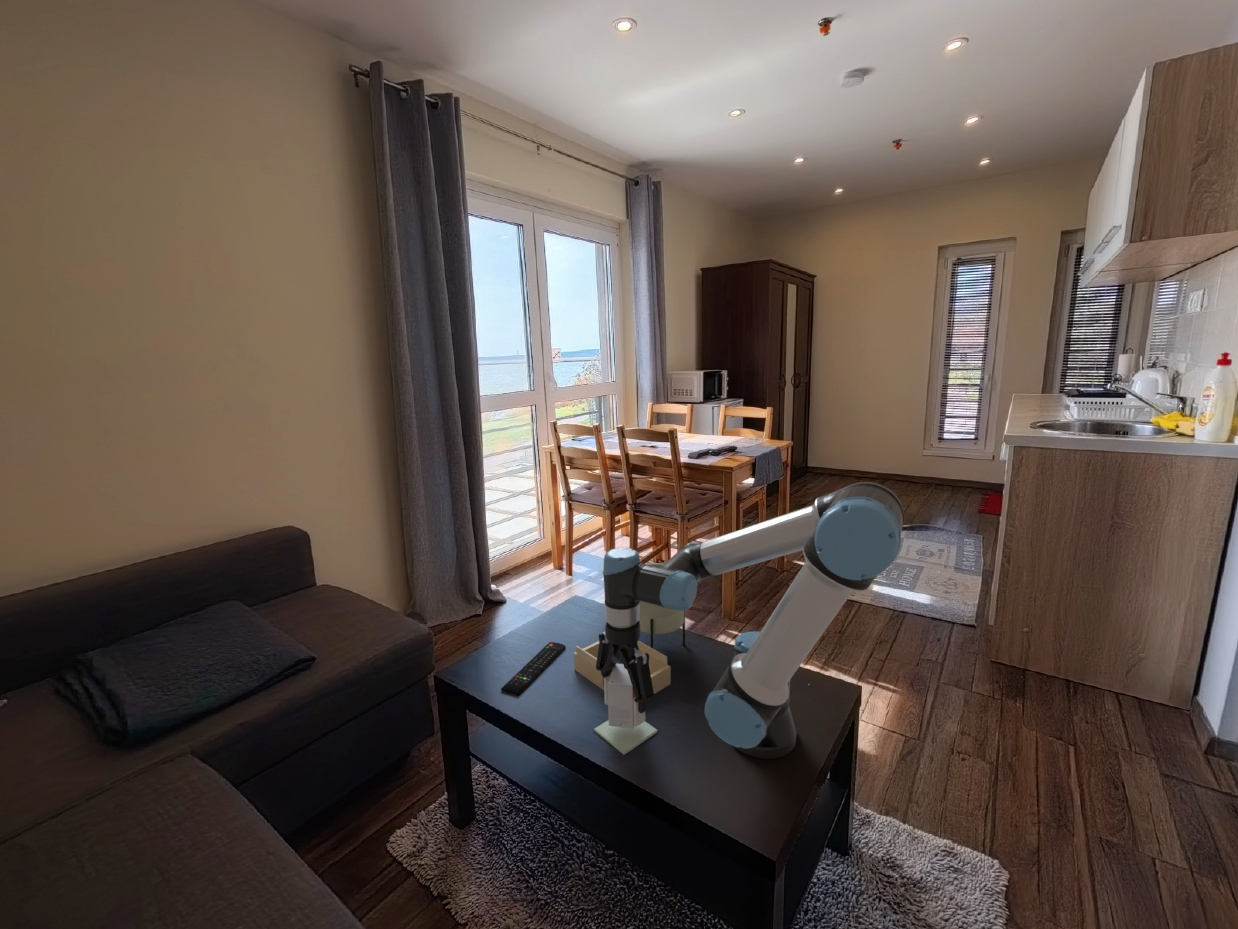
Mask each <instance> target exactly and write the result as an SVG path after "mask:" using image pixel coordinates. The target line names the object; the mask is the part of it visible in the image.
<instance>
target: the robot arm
mask: <svg viewBox="0 0 1238 929" xmlns="http://www.w3.org/2000/svg"><path fill="white" fill-rule="evenodd" d="M898 497H899V496H897V495H896V493H894V491H892V490H891V489H890V488H888V487H886V486H885V485H883V484H879V483H876V482H871V481H859V482H856V483H852V484H849V485H847V486H844V487H842V488H840V489H837V490H835V491H833V492H830V493H827V494H825V495H821V496H817V498H816V499H815V501H814V503H813V504H811V505H809V506H806V507H803V508H800V509H797V510H794V511H791V512H788V513H784V514H783V515H779V516H777V517H773V518H770V519H768V520H764V521H762V522H761V521H760V522H759V523H755V524H753V525H749V526H746V527H744V528H741V529H739V530H735V531H732V532H729V533H726V534H723V535H720V536H716V537H715V538H714V537H713V538H711V539H708V540H705V541H703V542H699V541H693V542H689V543H688V544H686V545H684V546H683V547H681V548H680V549H678V551H677V552H676V553H674V555H673V556H672V557H670V558H669V559H668V560H667V561H666V562H664V563H663V565H662V566H661V567H657V566H652V565H647V564H648V563H643V562H641V559H640V554H639V552H638V551H637V550H635V549H634V548H630V547H616V548H611V549H610V550H608V551H607V552H605V554H604V556H603V569H602V575H603V589H604V611H603V612H604V631H603V632H601V633H599V634H598V641H599V649H598V656H597V662H596V669H597V670H598V671H599V670H600V671H601V675H602V676H603V687H604V690H603V692H604V696H603V698H604V705H606V706H608V685H607V684H608V681H609V679H610V677H611V673H612V671H613V668H614V665H616V663H618V661H621V662H622V664H623V665H624V668H625V669H627V671H628V674H629V677H630V680H631V683H632V685H633V689H634V692H635V696H636V697H635V698H633V707H634V726H636V727H637V726H638V725H640V724H641V723H643V722H644V721H645V722H646V711H647V710H648V705H647V704H648V701H650V700H652V699H653V698H654V697H655V694H654V691H653V685H652V680H651V674H650V668H649V654H648V653H644V654H643V653H641V652H640V651H639V648H638V644H637V642H638V641H639V639H640V637H641V631H640V620H639V619H640V601H643V602H647V603H650V604H654V605H657V606H661V607H665V608H667V609H675V610H681V611H685V612H686V611H688V610H690V608H691V607H692V606H693V604H694V601H695V600H696V597H697V592H698V583H699V582H700V581H702V580H706V579H709V578H711V577H715V576H718V575H722V574H725V573H729V572H731V571H736V570H739V569H742V568H745V567H750V566H752V565H757V564H759V563H763V562H766V561H770V560H773V559H777V558H780V557H783V556H784V557H785V556H787V555H790V554H793V553H799V552H801V551H802V554H803V556H804V559H805V563H804V564H803V565H802V567H801V569H800V570H799V571H798V573H797V575H796V576H795V577H794V579H793V581H792V582H791V584H790V585H789V587H788V589H786V592H785V593H784V595H783V597H782V598H781V600H780V601H779V603H778V604H777V606H776V607H775V609H774V611H773V612H772V613H771V615H770V617H769V618H768V619H767V621H766V623H765V624H764V626H763V627H762V629H761V631H747V632H742V633H740V634H739V635H737V636H736V638H735V641H734V645H733V648H734V654H733V658H732V660H731V661H730V663H729V665H728V666H727V667H726V669H725V671H724V672H723V674H722V675H721V677H720V678H719V680H718V682H717V683H716V684H715V686H714V688H713V690H712V691H711V692H710V693H709V694H708V695H707V698H706V702H705V704H704V716H705V719H706V720H707V724H708V726H709V727H710V729H711V730H712V732H713V733H714V734H715V735H716V736H717V737H718V738H720V739H721V740H722V741H723V742H725V743H727V744H728V745H731V746H732V747H733V748H735V749H736V750H738V751H740V752H741V753H743V754H744V755H748V756H750V757H752V758H757V759H764V760H765V759H766V760H772V759H779V758H782V757H785V756H786V755H789V753H791V752H792V750H793V749H794V748H795V746H796V742H797V727H796V723H795V722H794V719H793V714H792V712H791V709H790V694H791V693H790V690H791V679H792V677H793V676H794V674H795V673H796V672H797V670H798V669H799V668H800V666H801V665H802V663H803V662H804V661H805V659H806V657H808V655H809V653H810V652H811V650H812V649H813V648H814V647H815V645H816V644H817V643H818V641H819V640H820V639H821V637H822V635H823V634H824V633H825V631H826V630H827V628H828V627H829V625H830V624H831V623H832V621H833V620H834V619H835V618H836V616H837V615H838V613H839V612H840V610H841V609H842V607H843V606H844V605H845V603H846V602H847V600H848V599H849V598H850V596H851V595H852V593H855V592H857V593H858V592H865V591H867V590H868V589H869V587H870V586H871V584H872V583H873V582H874V581H875V579H876V578H877V577H878V575H881V574H882V573H883V572H885V571H886V570H887V569H888V568H890V567H891V565H892V564H893V562H894V560H895V559H896V558H897V556H898V553H899V551H900V548H901V542H902V530H903V528H904V523H905V511H904V507H903V503H902V502H901V500H900V499H899V498H898ZM633 659H634V661H633V662H631V663H630V661H632V660H633ZM602 662H603V663H602Z"/></svg>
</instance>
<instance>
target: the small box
mask: <svg viewBox="0 0 1238 929" xmlns="http://www.w3.org/2000/svg"><path fill="white" fill-rule="evenodd" d="M607 685H608V705H607V711H608V712H607V714H608V715H607V716H608V720H609V726H614V727H622V728H631V729H633V728H634V707H633V698H635V697H636V696H635V692H634V689H633V685H632V683H631V680H630V677H629V674H628V671H627V669H625V668H624V665H623V663H618V662H617V663H616V665H614V668H613V671H612V674H611V677H610V679H609V681H608V684H607Z"/></svg>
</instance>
